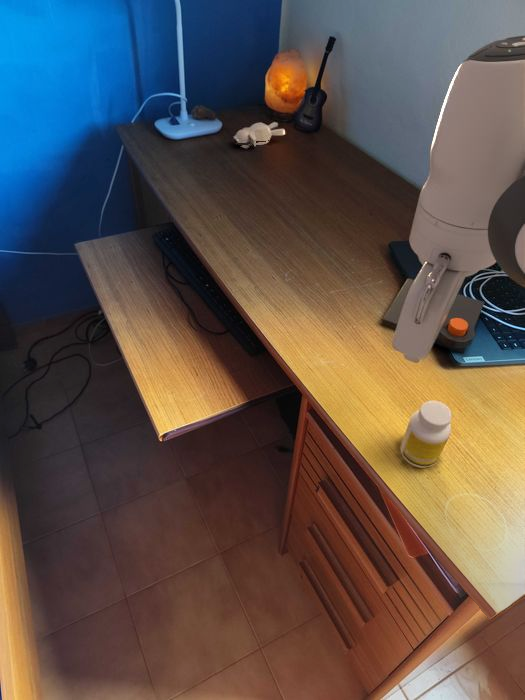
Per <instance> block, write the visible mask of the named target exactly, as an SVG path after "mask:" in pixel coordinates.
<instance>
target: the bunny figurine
mask: <svg viewBox="0 0 525 700" xmlns="http://www.w3.org/2000/svg"><path fill="white" fill-rule="evenodd" d="M278 127H279V123H278V122H277V121H273V122H271V123H270V124H268V125H267V124H265V123H263V122H256V123H254V124H252V125H251V126H250V127H243V128H242V129H239V130H238V131H237V132H236V134H235V135H234V136H233V140H234V139H235V140H236V141H237V143H247V142H251V143H252V144H253V145H254V146H253V145H252V144H251V143H250V144H248V145H242V146H241V148H243V149H248V148H250V147H251V146H252V147H257V146H263V145H266V144H268V143H269V142H270V140H271V138H272V136H284V135H286V130H285V128H278ZM276 128H277V129H276ZM268 140H269V141H268ZM256 141H266V142H258V143H256ZM237 143H236V144H237ZM256 145H257V146H256Z"/></svg>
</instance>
